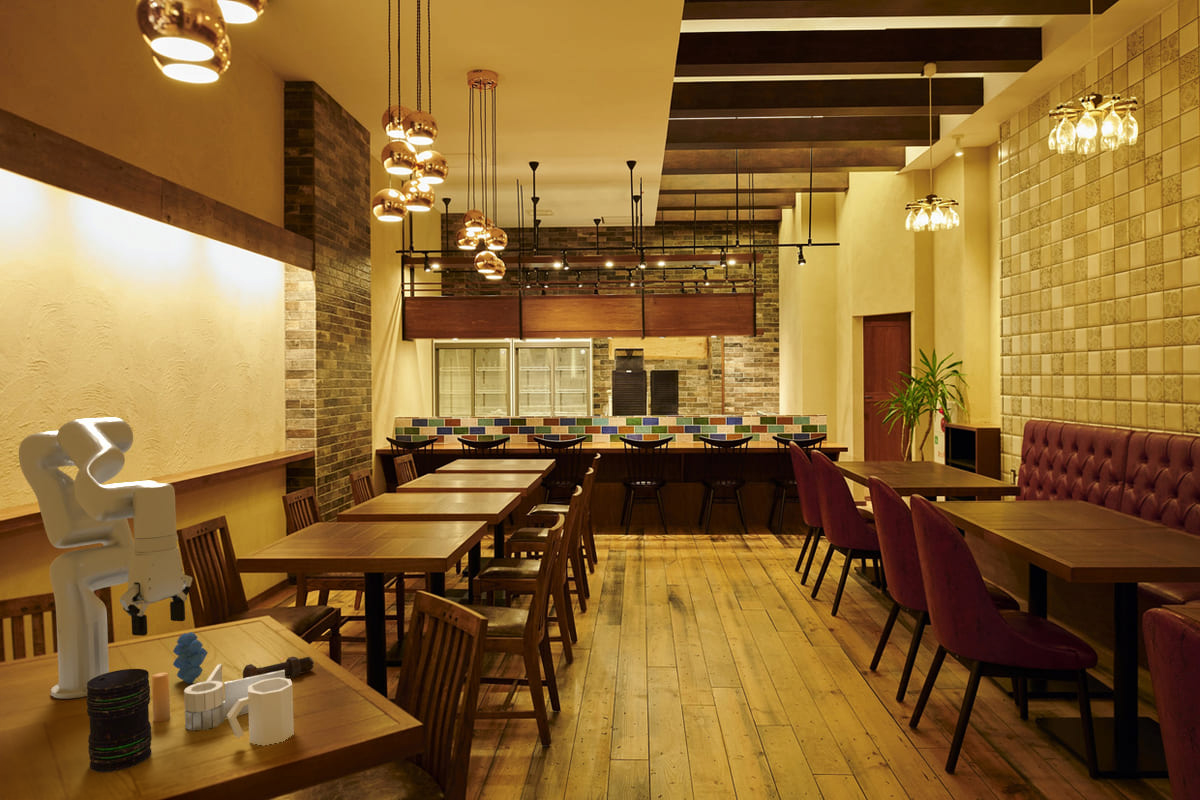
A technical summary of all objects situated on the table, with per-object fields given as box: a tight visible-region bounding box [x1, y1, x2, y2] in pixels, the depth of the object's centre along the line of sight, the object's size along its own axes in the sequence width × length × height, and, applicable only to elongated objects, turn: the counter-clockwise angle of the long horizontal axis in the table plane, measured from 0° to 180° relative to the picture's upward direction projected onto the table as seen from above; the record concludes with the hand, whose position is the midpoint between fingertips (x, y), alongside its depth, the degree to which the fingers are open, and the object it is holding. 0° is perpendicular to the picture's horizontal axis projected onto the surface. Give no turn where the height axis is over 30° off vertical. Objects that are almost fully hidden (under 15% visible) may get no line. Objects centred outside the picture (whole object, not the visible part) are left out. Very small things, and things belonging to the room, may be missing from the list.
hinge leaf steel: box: [184, 670, 286, 732], centre depth 161 cm, size 7×19×7 cm, turn 124°
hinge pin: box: [151, 672, 171, 723], centre depth 161 cm, size 3×3×9 cm
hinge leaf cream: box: [183, 663, 225, 712], centre depth 163 cm, size 17×7×7 cm, turn 14°
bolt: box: [242, 656, 315, 679], centre depth 182 cm, size 6×5×15 cm
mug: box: [227, 677, 295, 747], centre depth 150 cm, size 12×9×10 cm
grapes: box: [172, 631, 209, 685], centre depth 181 cm, size 12×7×12 cm, turn 52°
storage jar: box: [86, 668, 153, 773], centre depth 143 cm, size 10×10×15 cm
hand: (159, 627), depth 160 cm, fingers open, 9 cm apart
